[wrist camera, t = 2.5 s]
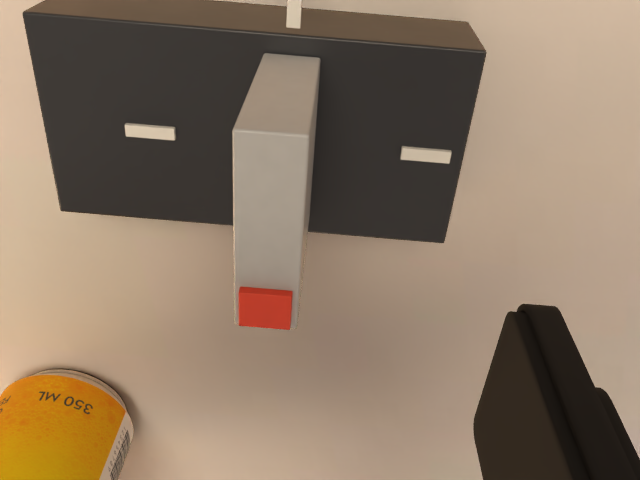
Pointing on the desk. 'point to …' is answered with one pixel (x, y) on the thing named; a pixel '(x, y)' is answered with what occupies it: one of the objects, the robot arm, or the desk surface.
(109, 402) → the beer can
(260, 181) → the timer knob
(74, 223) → the desk surface
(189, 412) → the desk surface
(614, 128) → the desk surface
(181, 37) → the panel
